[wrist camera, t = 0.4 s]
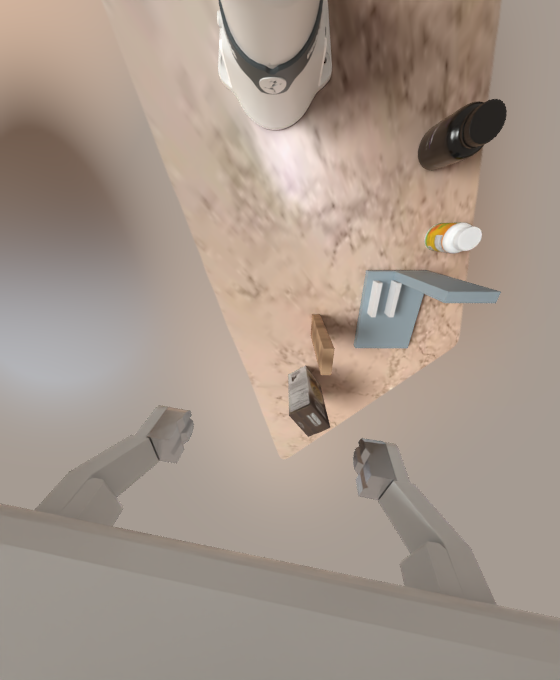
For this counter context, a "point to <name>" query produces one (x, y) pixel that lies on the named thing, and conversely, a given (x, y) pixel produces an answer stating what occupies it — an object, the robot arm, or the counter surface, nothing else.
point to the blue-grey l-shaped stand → (406, 303)
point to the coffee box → (307, 402)
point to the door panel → (322, 345)
